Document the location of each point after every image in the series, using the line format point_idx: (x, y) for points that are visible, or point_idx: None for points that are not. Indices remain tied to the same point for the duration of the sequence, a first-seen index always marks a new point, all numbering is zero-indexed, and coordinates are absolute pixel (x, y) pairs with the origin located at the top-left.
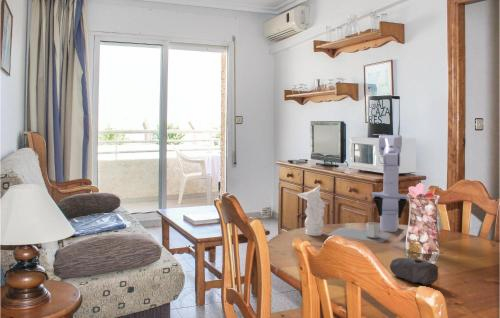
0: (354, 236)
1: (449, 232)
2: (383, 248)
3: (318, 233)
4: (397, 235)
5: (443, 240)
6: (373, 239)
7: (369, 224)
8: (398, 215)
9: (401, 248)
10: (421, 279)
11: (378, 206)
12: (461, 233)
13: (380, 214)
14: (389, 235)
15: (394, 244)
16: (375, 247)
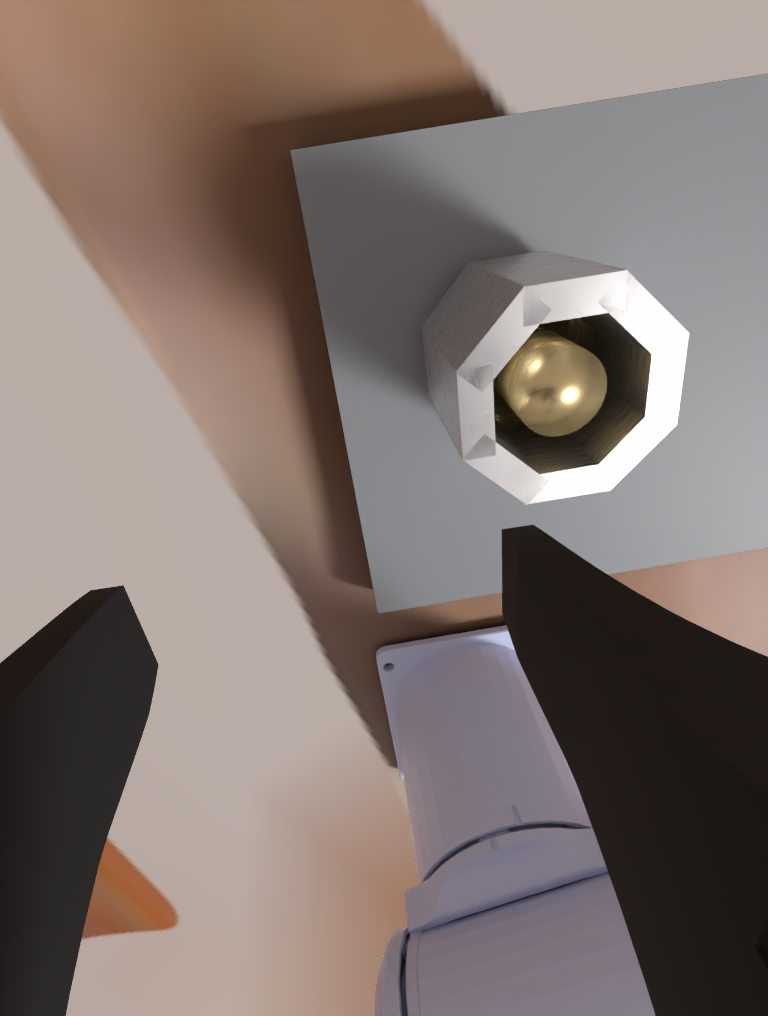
0: (727, 216)
1: (128, 919)
2: (229, 33)
3: None
4: (372, 671)
5: None
6: (460, 236)
7: (617, 294)
8: (87, 611)
9: (66, 224)
10: None
11: (653, 643)
12: None
13: (512, 544)
14: (379, 543)
15: (231, 355)
16: (340, 5)
